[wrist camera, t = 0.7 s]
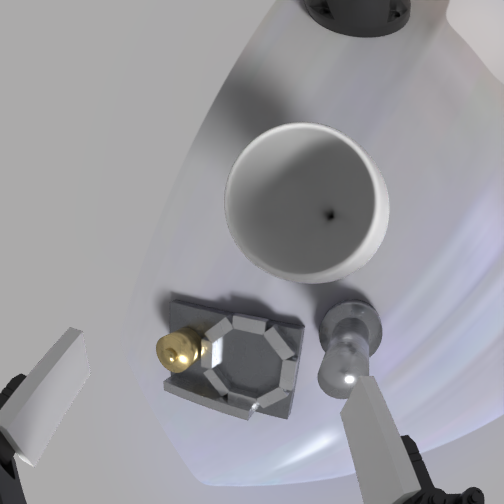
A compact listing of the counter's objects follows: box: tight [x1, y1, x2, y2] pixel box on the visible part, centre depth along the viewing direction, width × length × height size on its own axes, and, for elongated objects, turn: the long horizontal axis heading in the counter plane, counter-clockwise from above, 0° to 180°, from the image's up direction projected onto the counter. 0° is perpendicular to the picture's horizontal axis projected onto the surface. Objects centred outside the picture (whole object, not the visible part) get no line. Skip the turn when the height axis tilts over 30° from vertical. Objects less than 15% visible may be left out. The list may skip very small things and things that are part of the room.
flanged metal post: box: [318, 299, 382, 399], centre depth 25 cm, size 7×7×12 cm
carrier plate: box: [156, 300, 305, 420], centre depth 34 cm, size 14×18×6 cm
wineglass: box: [224, 122, 389, 284], centre depth 21 cm, size 9×9×21 cm
